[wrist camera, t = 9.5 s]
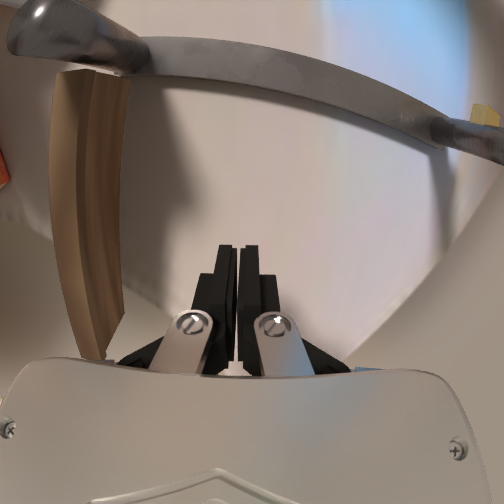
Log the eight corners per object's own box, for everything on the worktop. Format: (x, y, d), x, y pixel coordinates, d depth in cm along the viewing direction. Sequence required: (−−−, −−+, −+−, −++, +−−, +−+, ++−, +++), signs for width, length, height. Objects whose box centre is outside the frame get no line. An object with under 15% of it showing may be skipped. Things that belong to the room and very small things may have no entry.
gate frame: (124, 31, 14) (25, -16, 3) (449, 110, 17) (558, 133, 6) (114, 75, 16) (0, 61, 5) (440, 150, 19) (547, 194, 8)
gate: (134, 79, 15) (86, 68, 9) (127, 313, 24) (102, 364, 18) (110, 80, 15) (56, 72, 9) (108, 309, 24) (81, 357, 18)
